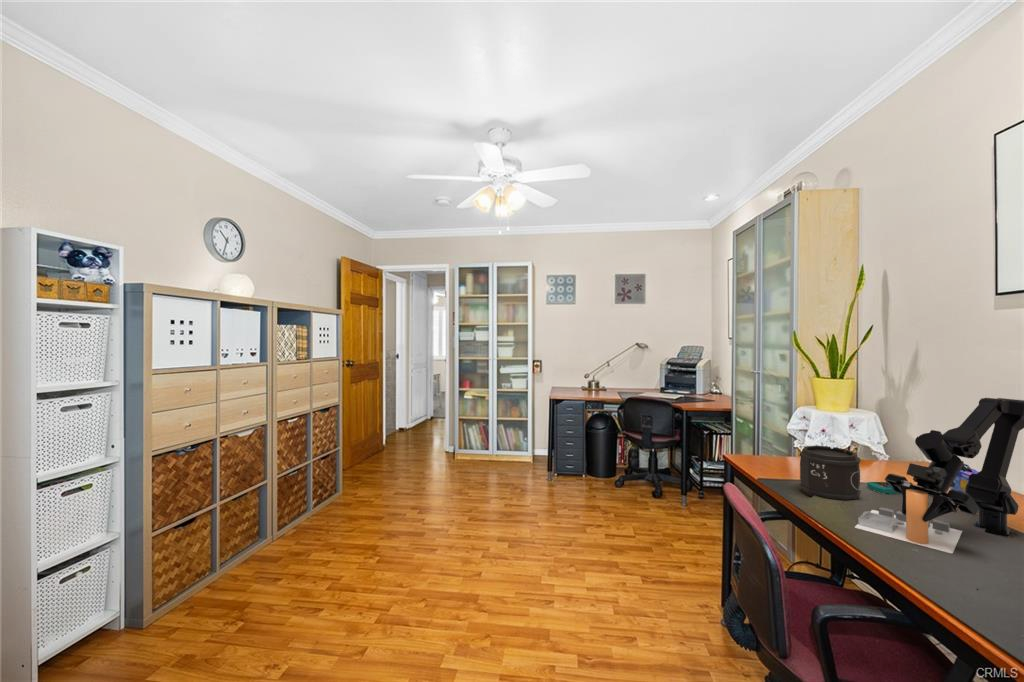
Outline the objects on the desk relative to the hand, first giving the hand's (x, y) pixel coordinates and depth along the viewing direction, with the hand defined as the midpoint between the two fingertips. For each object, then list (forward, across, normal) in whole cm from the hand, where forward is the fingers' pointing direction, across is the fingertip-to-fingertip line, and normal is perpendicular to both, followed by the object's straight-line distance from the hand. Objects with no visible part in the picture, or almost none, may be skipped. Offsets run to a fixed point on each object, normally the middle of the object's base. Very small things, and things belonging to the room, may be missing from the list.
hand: (913, 517), depth 117 cm
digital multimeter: (-23, -31, +35) cm, 52 cm away
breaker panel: (+1, -6, +10) cm, 12 cm away
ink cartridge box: (-27, -12, +38) cm, 49 cm away
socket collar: (+3, -10, +6) cm, 12 cm away
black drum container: (-5, -35, +16) cm, 39 cm away
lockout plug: (+4, 0, +6) cm, 7 cm away
